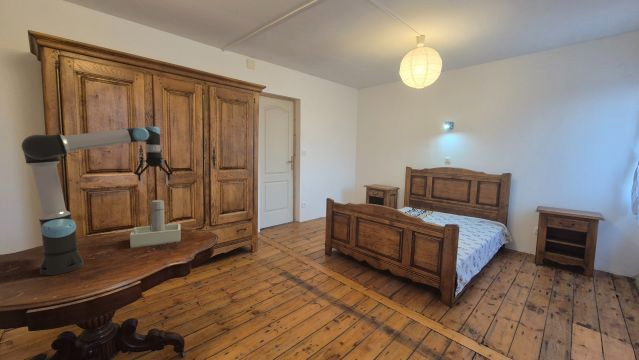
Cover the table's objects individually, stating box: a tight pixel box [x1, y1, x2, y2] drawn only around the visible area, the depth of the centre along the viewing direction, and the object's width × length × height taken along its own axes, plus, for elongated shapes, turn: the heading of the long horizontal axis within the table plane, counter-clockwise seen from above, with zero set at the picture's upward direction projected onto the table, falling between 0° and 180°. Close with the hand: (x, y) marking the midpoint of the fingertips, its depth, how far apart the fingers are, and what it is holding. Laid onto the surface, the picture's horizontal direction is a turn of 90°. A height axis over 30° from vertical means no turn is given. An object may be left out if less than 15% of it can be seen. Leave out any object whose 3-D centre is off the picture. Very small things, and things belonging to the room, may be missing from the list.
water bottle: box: [149, 199, 166, 232], centre depth 168 cm, size 9×8×25 cm
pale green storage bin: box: [129, 222, 182, 249], centre depth 169 cm, size 26×16×8 cm, turn 118°
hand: (154, 185), depth 165 cm, fingers open, 13 cm apart
